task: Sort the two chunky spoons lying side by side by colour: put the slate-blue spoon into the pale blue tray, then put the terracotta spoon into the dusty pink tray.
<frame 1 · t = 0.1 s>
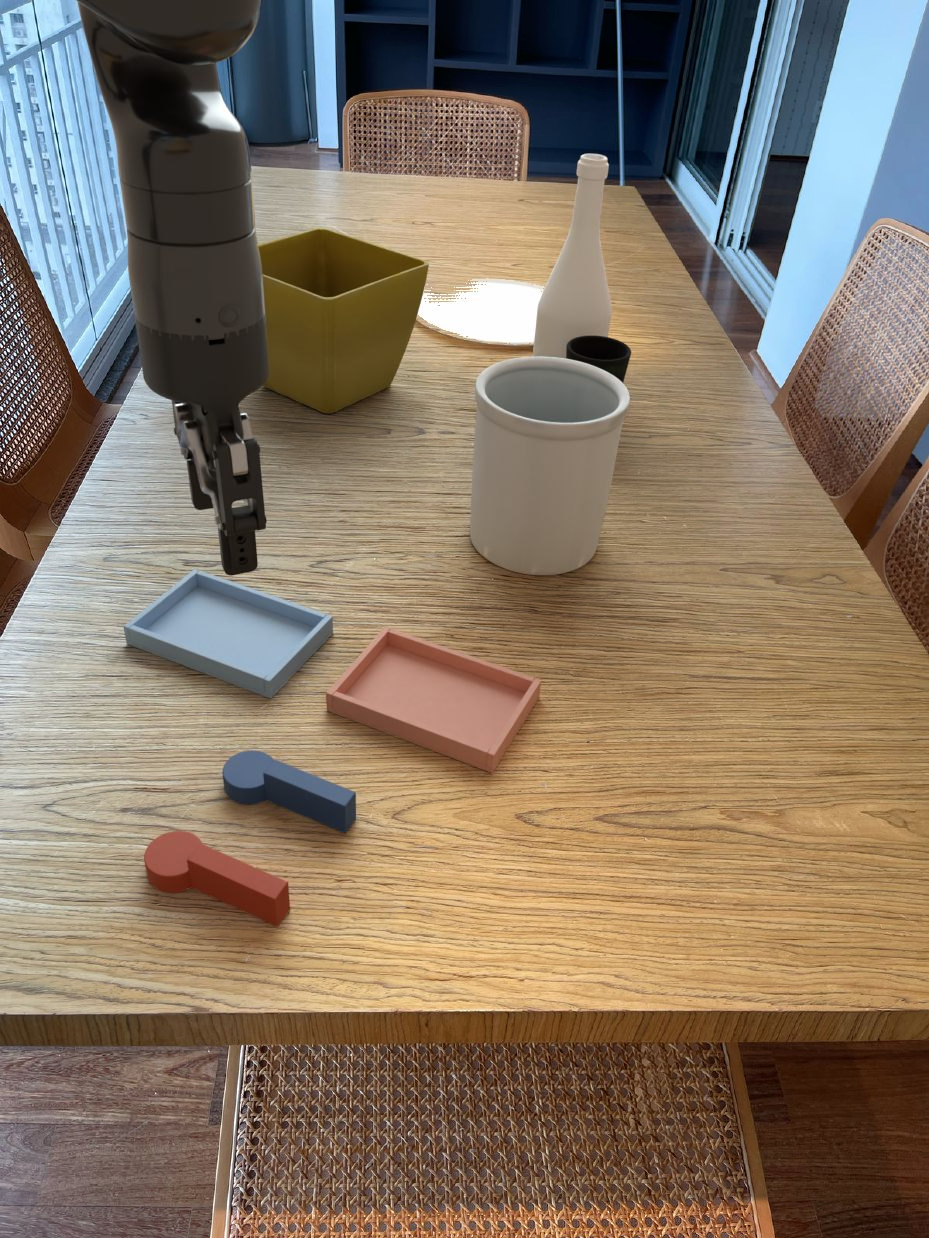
hand: (224, 537, 69), 19 cm above the table, tool pointing down, fingers open, 8 cm apart
plate: (499, 315, 158), on the table
spoon blue: (287, 800, 76), on the table
utensil holder: (534, 542, 106), on the table
tray blue: (231, 638, 90), on the table
spoon red: (216, 887, 69), on the table
flower pot: (327, 388, 133), on the table
wine bottle: (563, 395, 136), on the table
cup: (585, 440, 126), on the table
tray pink: (434, 703, 85), on the table
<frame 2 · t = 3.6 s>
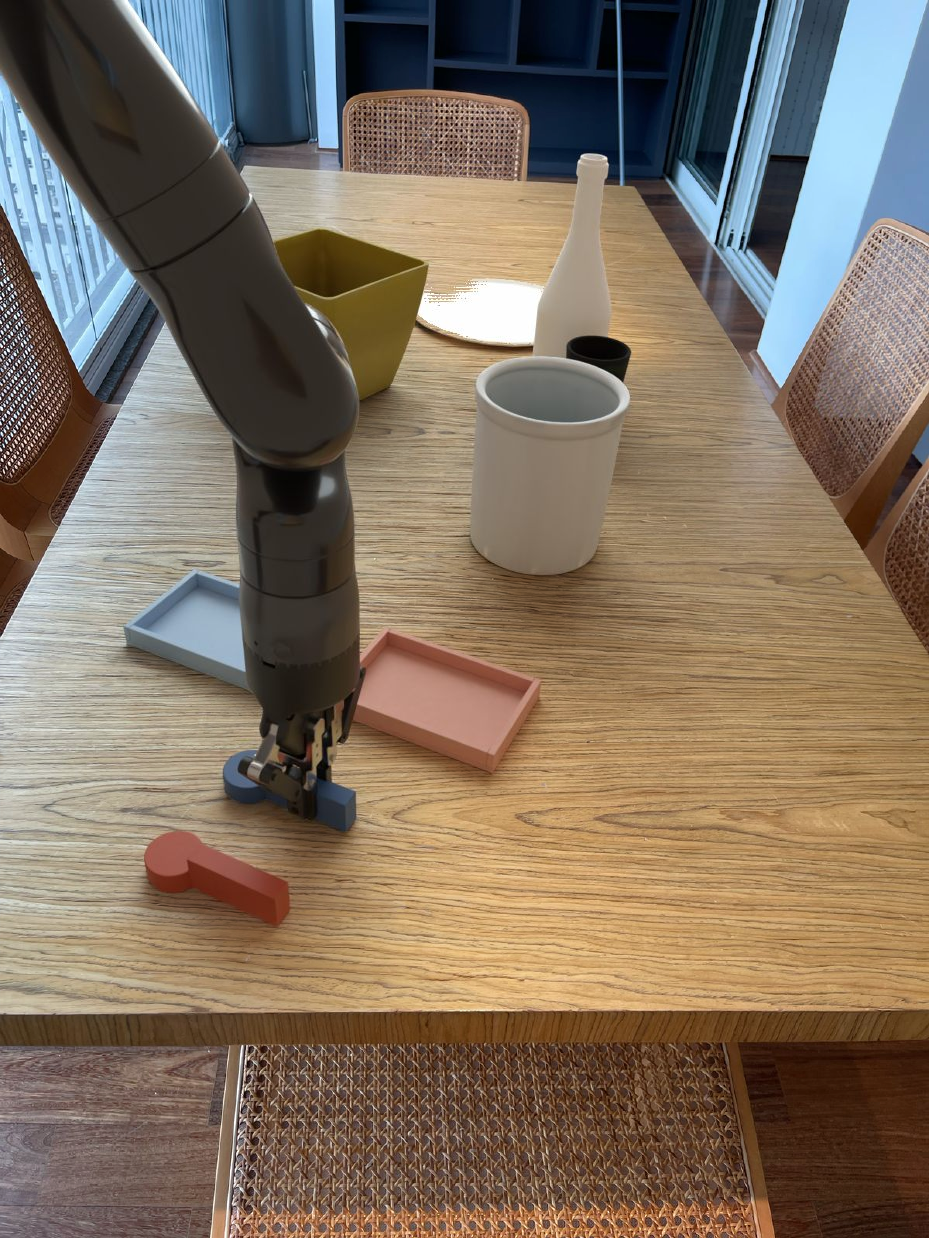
hand: (310, 805, 75), 1 cm above the table, tool pointing down, fingers closed on spoon blue
spoon blue: (288, 799, 76), on the table, touching gripper
everything else where it was.
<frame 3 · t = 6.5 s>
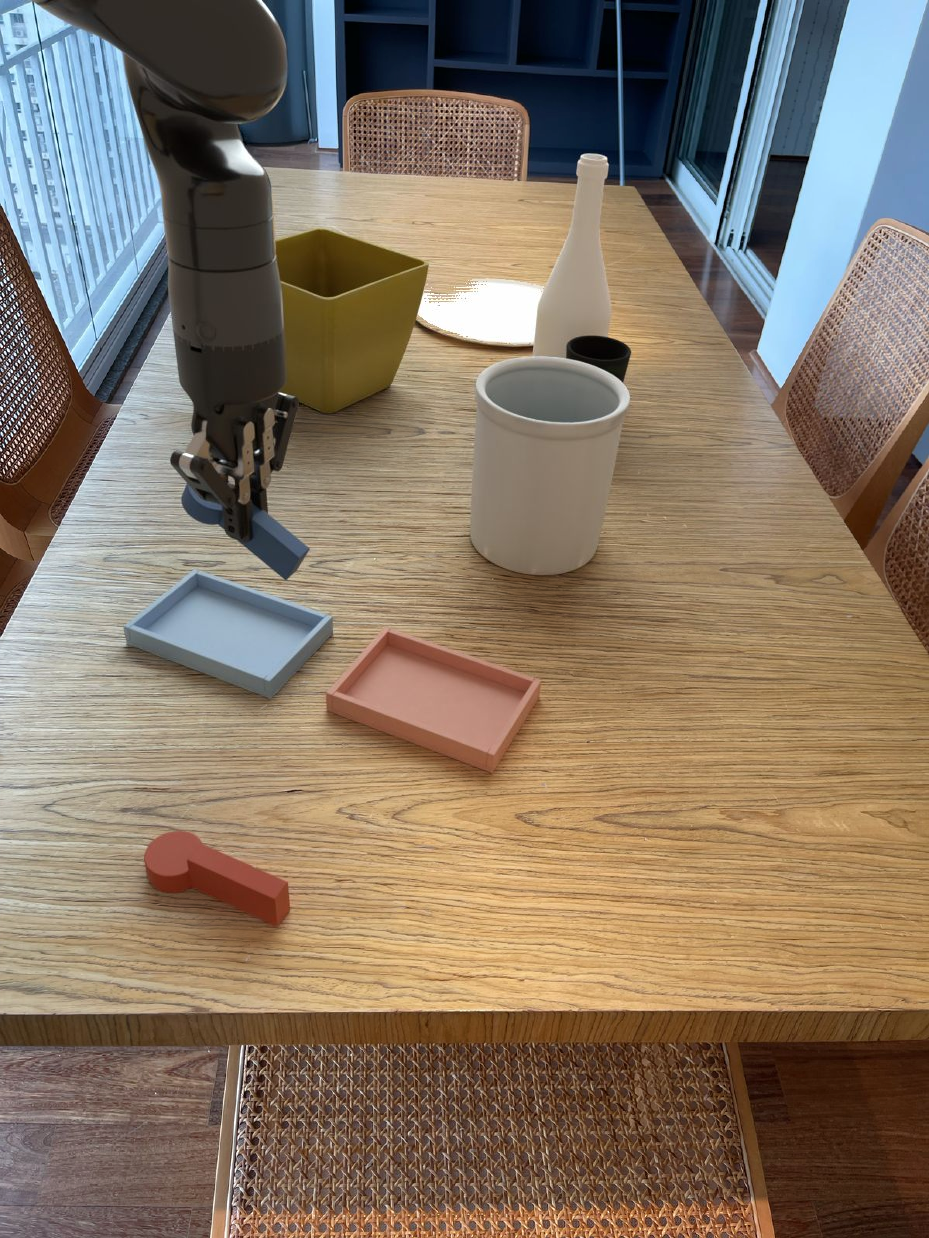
hand: (247, 532, 79), 14 cm above the table, tool pointing down, fingers closed on spoon blue
spoon blue: (237, 532, 80), point 14 cm above the table, tilted 28°, touching gripper
everything else where it was.
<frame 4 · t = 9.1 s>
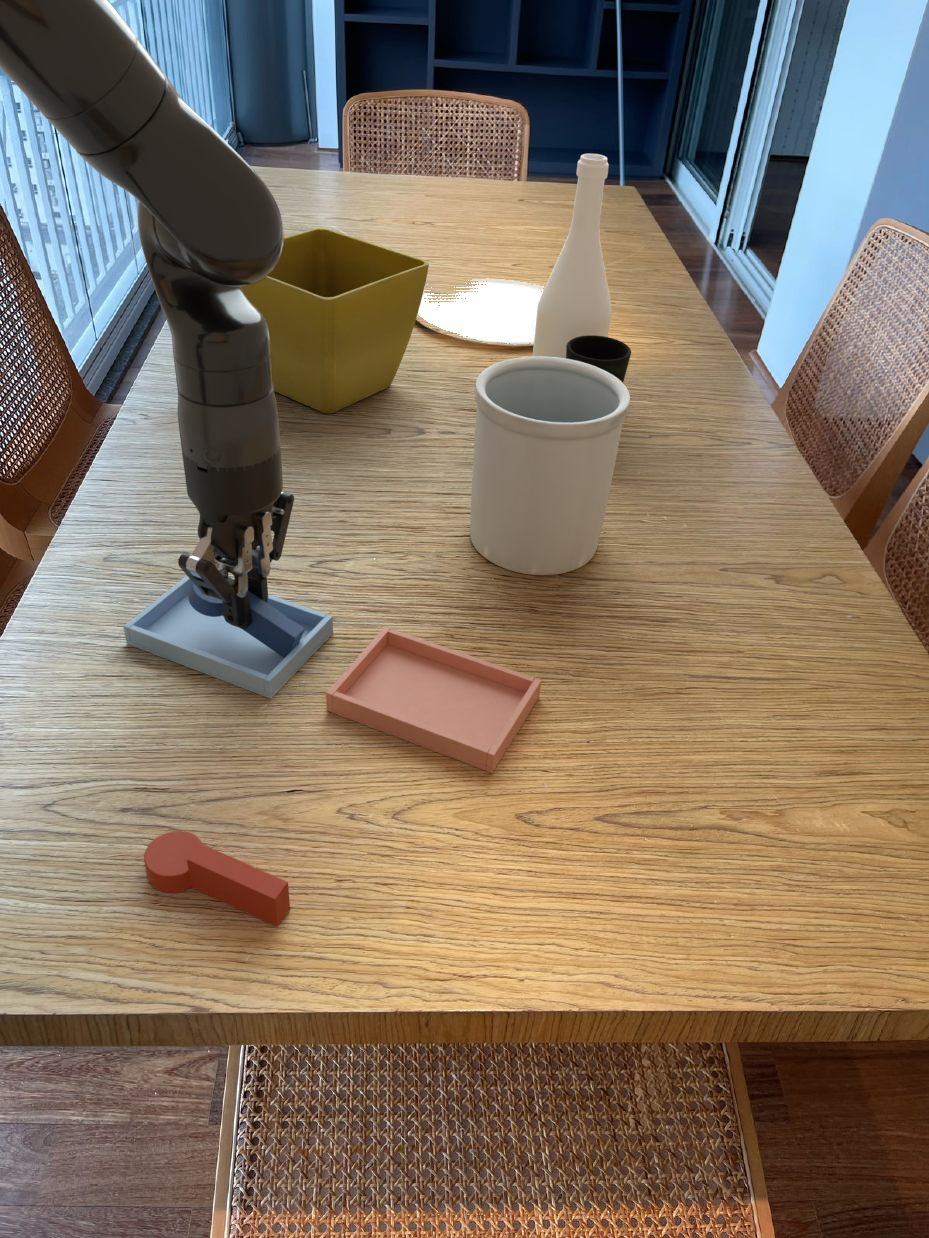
hand: (247, 616, 88), 3 cm above the table, tool pointing down, fingers closed
spoon blue: (241, 620, 89), point 2 cm above the table, tilted 20°, touching tray blue
everything else where it was.
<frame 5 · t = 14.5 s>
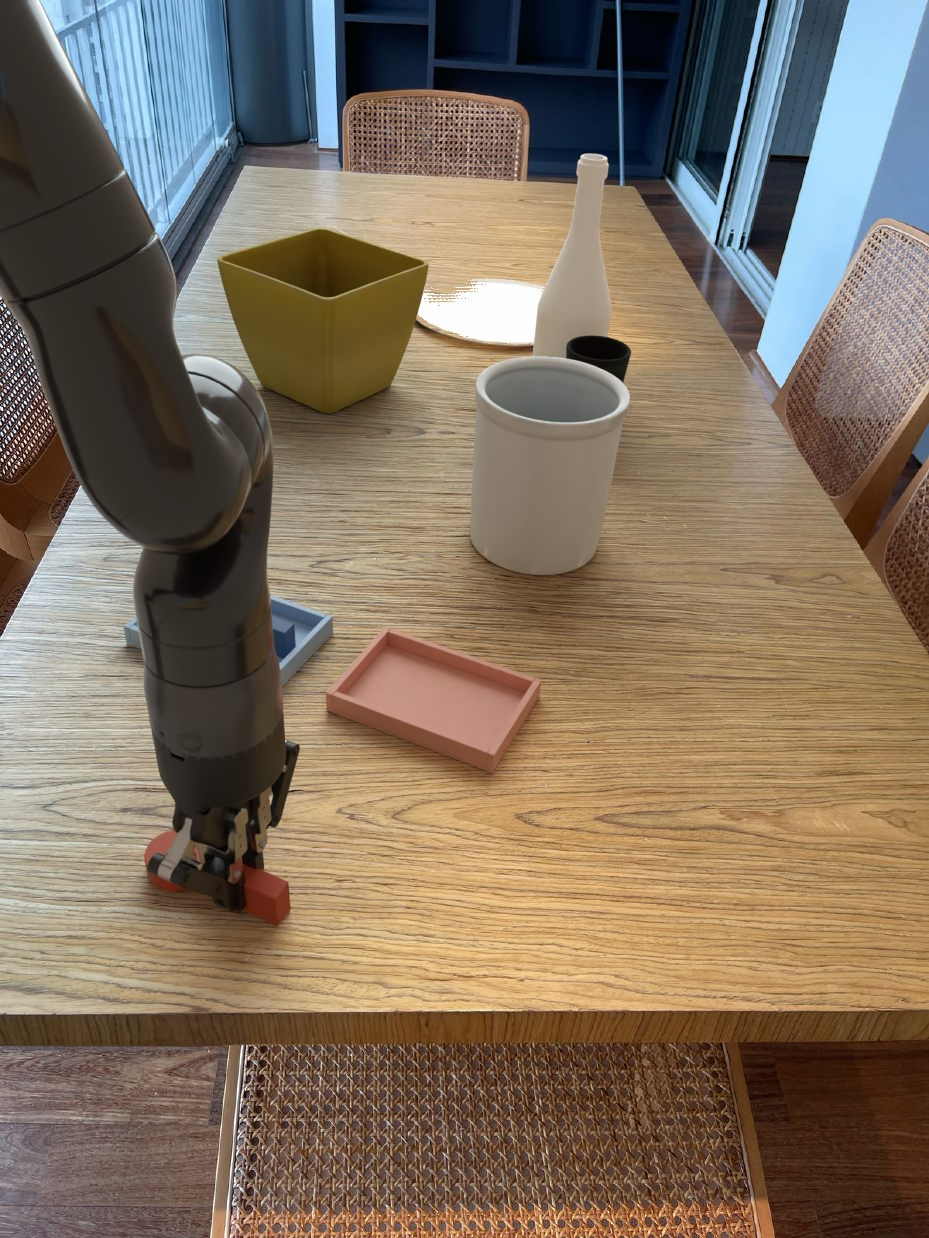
hand: (239, 893, 68), 1 cm above the table, tool pointing down, fingers closed on spoon red
spoon blue: (239, 636, 90), resting on tray blue
spoon red: (216, 886, 69), on the table, touching gripper
everything else where it was.
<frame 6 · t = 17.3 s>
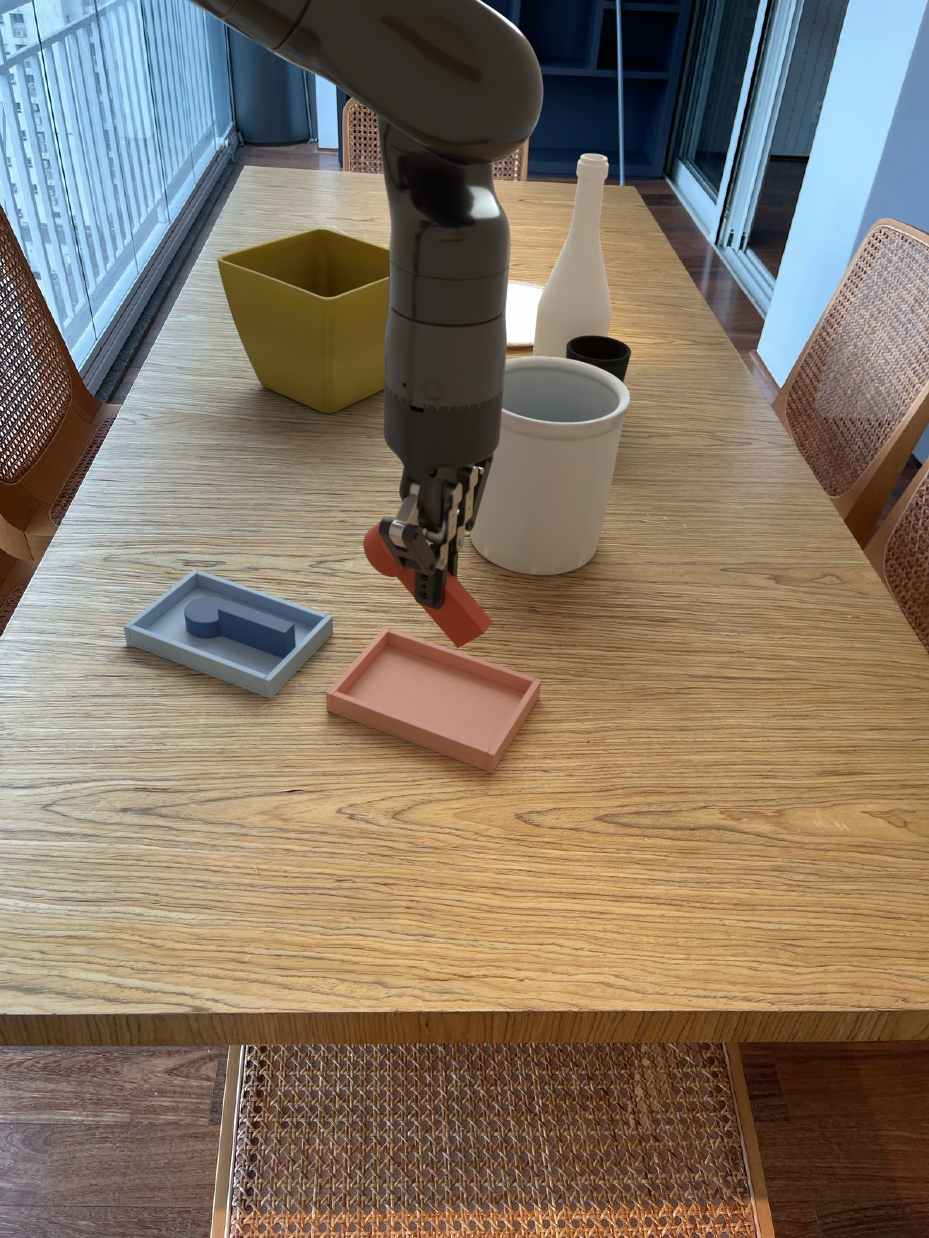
hand: (435, 597, 73), 14 cm above the table, tool pointing down, fingers closed on spoon red
spoon red: (414, 587, 73), point 15 cm above the table, tilted 42°, touching gripper
everything else where it was.
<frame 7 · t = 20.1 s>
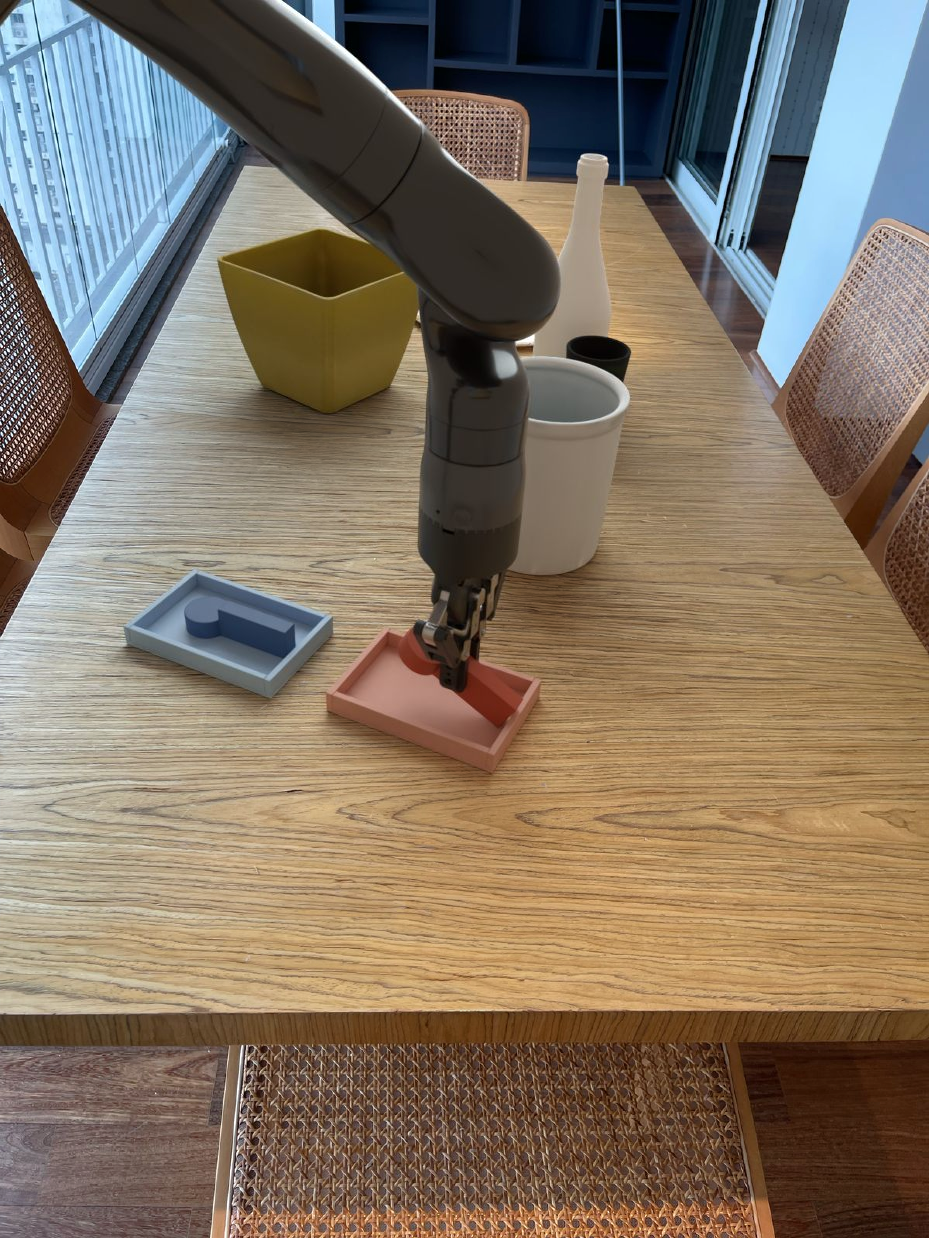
hand: (458, 679, 82), 4 cm above the table, tool pointing down, fingers closed on spoon red
spoon red: (450, 680, 83), point 3 cm above the table, tilted 28°, touching gripper, tray pink
everything else where it was.
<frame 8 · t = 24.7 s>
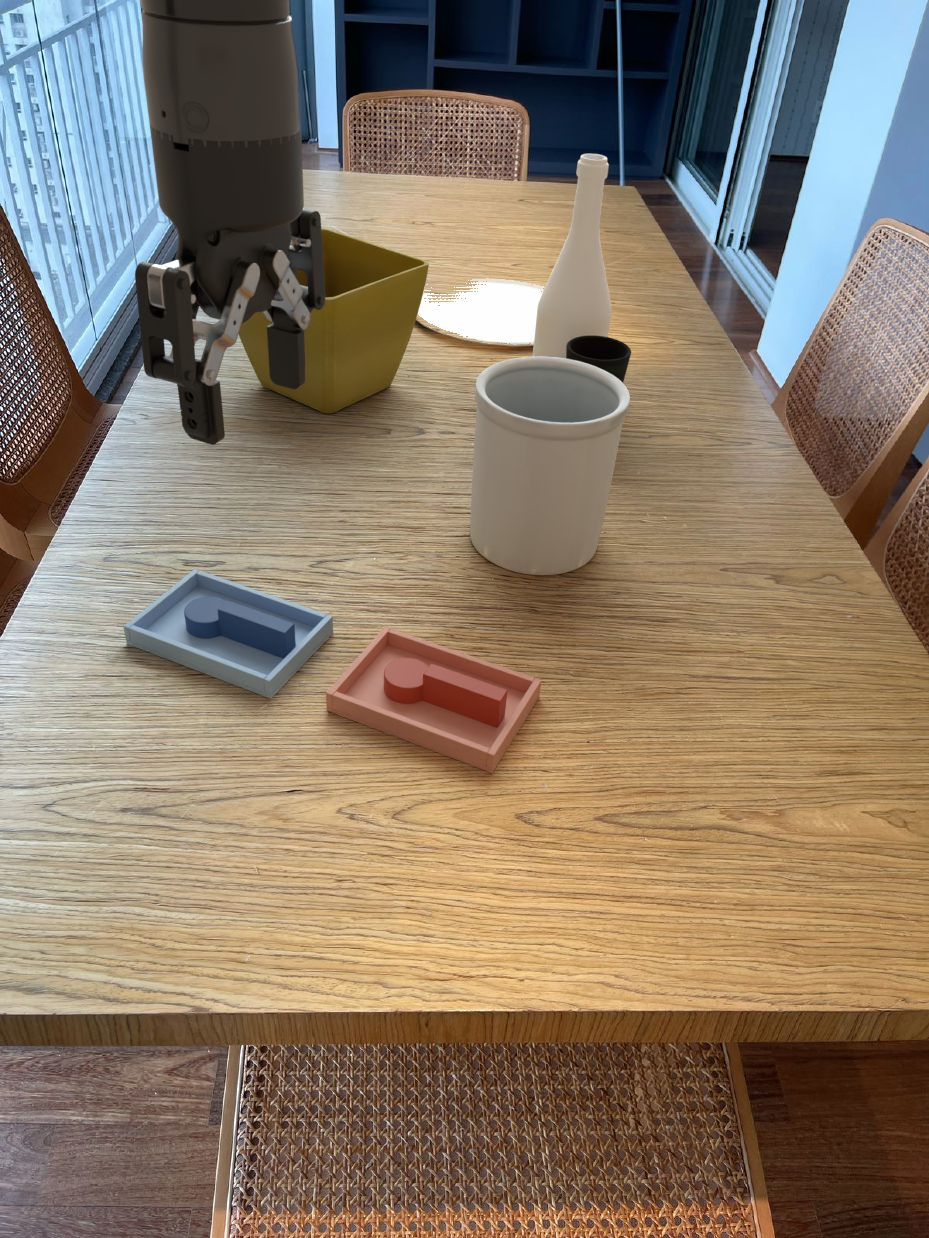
hand: (248, 411, 60), 30 cm above the table, tool pointing down, fingers open, 8 cm apart
spoon red: (441, 700, 85), resting on tray pink
everything else where it was.
at the end: spoon blue inside the target area in the tray blue (0.8 cm from its centre), point 0.5 cm above the tray blue's base; spoon red inside the target area in the tray pink (0.6 cm from its centre), point 0.5 cm above the tray pink's base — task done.
